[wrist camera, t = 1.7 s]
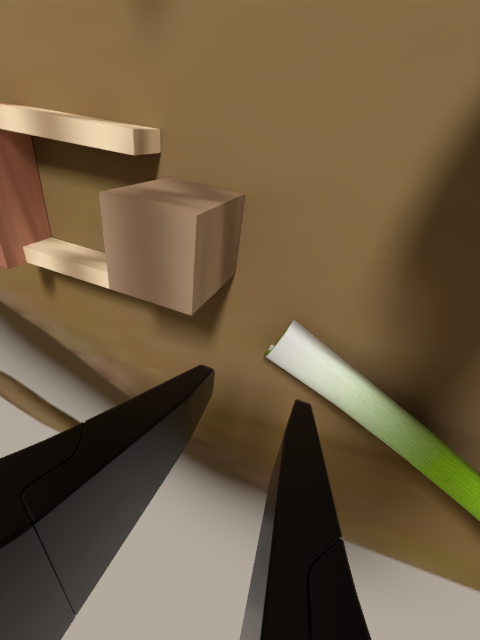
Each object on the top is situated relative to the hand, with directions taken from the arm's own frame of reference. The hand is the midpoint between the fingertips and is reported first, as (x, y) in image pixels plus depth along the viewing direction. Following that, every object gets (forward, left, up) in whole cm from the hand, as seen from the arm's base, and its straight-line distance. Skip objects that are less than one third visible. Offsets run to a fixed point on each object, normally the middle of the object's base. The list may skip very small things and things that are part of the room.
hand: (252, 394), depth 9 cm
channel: (+16, 0, -12) cm, 20 cm away
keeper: (+8, 0, -12) cm, 14 cm away
